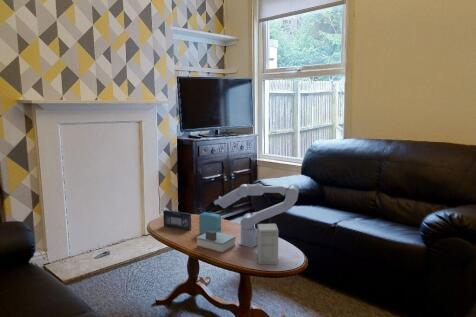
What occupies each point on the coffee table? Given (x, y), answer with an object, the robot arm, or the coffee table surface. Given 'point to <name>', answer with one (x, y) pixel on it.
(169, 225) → the vhs cassette tape
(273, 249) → the supplement box
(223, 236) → the lid flap
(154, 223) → the coffee table surface
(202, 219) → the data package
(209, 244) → the carton
